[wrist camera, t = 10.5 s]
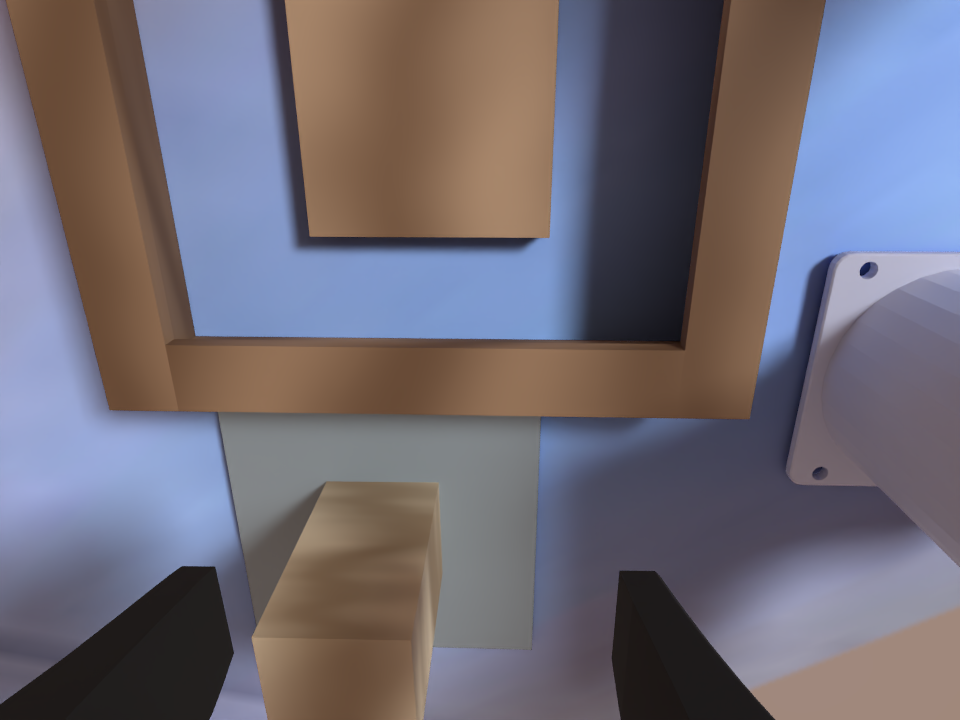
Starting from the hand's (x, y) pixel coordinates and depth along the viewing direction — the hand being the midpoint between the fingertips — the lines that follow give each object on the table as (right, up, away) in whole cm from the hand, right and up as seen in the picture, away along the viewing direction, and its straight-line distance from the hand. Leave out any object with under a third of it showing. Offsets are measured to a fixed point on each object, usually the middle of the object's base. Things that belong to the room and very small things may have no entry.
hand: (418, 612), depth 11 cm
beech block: (-2, -2, +12) cm, 12 cm away
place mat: (-2, -2, +12) cm, 12 cm away
